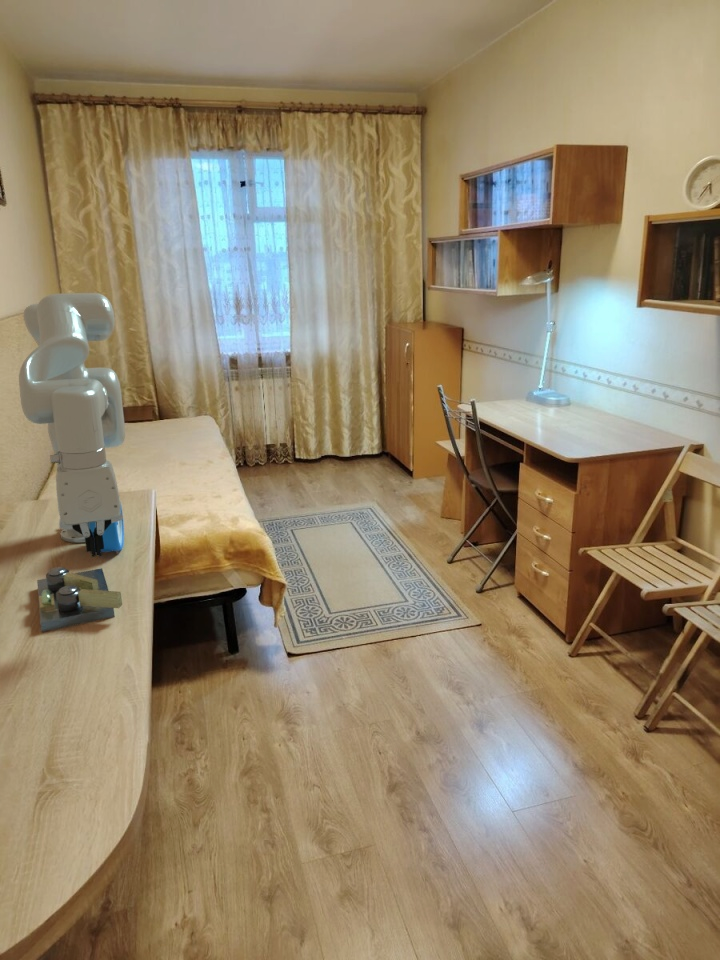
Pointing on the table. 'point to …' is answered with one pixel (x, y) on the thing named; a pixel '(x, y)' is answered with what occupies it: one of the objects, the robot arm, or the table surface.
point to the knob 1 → (68, 580)
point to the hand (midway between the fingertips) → (95, 553)
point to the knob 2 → (86, 598)
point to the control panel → (84, 614)
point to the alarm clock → (112, 535)
